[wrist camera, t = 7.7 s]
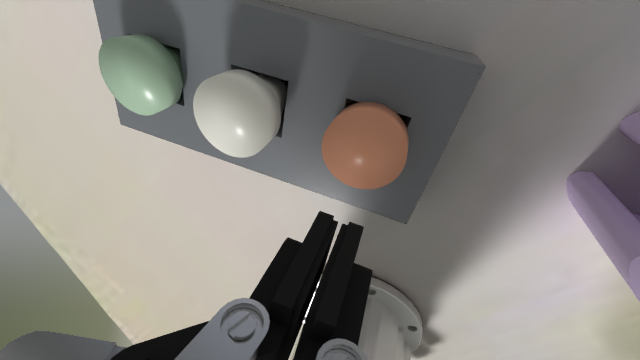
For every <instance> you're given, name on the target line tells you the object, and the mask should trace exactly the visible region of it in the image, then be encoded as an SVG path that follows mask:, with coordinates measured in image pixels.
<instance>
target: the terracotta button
mask: <svg viewBox="0 0 640 360" xmlns="http://www.w3.org/2000/svg"><path fill="white" fill-rule="evenodd" d="M408 145H409V137H408V131H407V128H406V126H405V124H404V122H403V120H402V119H401V118H400V116H399V115H398V114H397V113H396V112H394V111H393V110H392V109H390V108H388V107H387V106H385V105H382V104H379V103H375V102H360V103H356V104H352V105H350V106H348V107H346V108H345V109H343V110H342V111H341V112H340V113H339V114H338V115H337V116H336V117H335V119H334V120H333V121H332V123H331V124H330V125H329V127H328V128H327V130H326V131H325V133H324V136H323V139H322V156H323V160H324V162H325V164H326V166H327V168H328V169H329V171H330V172H331V173H332V174H333V175H334V176H335V177H336V178H337V179H338V180H340V181H341V182H343V183H345V184H346V185H349V186H351V187H354V188H359V189H375V188H380V187H383V186H385V185H387V184H389V183H391V182H392V181H394V180H395V179H396V178H397V177H398V176H399V175H400V173H401V172H402V170H403V168H404V166H405V163H406V160H407V153H408Z"/></svg>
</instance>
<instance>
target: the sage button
mask: <svg viewBox="0 0 640 360" xmlns="http://www.w3.org/2000/svg"><path fill="white" fill-rule="evenodd" d="M99 66H100V70H101V74H102V76H103V79H104V81H105V83H106V85H107V87H108V88H109V90H110V91H111V93H112V94H113V95H114V97H115V98H116V99H117V100H118V101H119V102H120V103H121V104H122V105H123V106H125V107H126V108H127V109H129V110H130V111H132V112H134V113H137V114H140V115H145V116H147V115H153V114H155V113H158V112H160V111H162V110H165V109H167V108H169V107H171V106H173V105H175V104H176V103H177V102H178V100H179V99H180V96H181V93H182V88H183V82H182V70H181V58H180V49H178V48H175V47H172V46H168V45H162V44H161V43H160V42H158V41H157V40H155V39H154V38H152V37H150V36H147V35H144V34H133V35H126V36H118V37H111V38H109V39H107V40H106V41H105V42H104V43H103V44H102V46H101V48H100V51H99Z"/></svg>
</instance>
